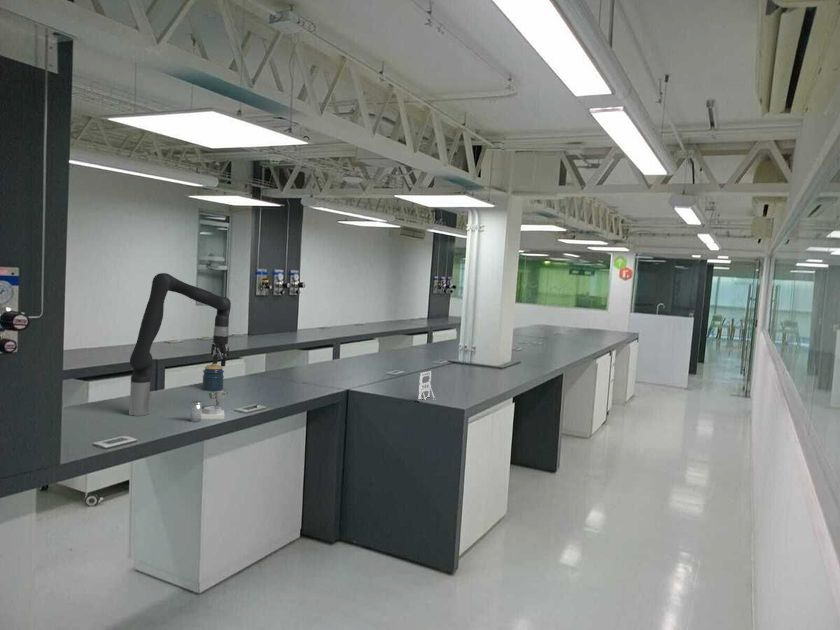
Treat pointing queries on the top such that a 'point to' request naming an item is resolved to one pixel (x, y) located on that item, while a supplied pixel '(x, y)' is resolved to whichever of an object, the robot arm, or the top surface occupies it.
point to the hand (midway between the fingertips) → (219, 365)
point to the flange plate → (212, 413)
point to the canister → (213, 377)
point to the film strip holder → (424, 385)
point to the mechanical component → (218, 396)
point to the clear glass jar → (196, 411)
